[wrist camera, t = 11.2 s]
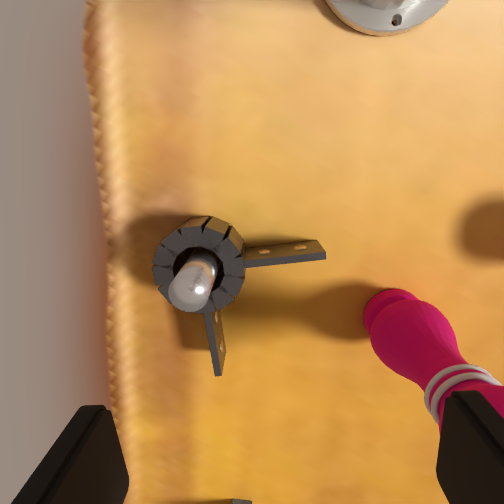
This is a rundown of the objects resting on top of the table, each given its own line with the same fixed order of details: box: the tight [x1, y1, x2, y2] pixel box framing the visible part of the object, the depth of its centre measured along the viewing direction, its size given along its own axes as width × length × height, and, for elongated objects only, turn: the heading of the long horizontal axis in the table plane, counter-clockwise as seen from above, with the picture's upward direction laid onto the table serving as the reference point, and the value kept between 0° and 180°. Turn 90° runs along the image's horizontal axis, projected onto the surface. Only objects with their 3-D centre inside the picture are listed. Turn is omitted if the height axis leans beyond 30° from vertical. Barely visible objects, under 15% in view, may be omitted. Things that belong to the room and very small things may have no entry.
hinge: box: [152, 216, 326, 376], centre depth 32 cm, size 16×16×5 cm
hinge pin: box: [168, 246, 221, 312], centre depth 29 cm, size 3×3×10 cm
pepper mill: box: [363, 289, 504, 435], centre depth 25 cm, size 7×7×20 cm
